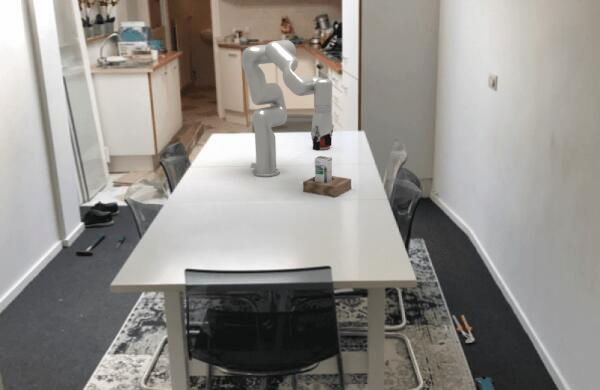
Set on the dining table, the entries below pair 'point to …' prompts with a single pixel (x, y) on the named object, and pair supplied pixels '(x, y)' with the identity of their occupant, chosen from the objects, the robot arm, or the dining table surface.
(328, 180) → the syrup box
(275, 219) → the dining table surface
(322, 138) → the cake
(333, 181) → the frame
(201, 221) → the dining table surface
